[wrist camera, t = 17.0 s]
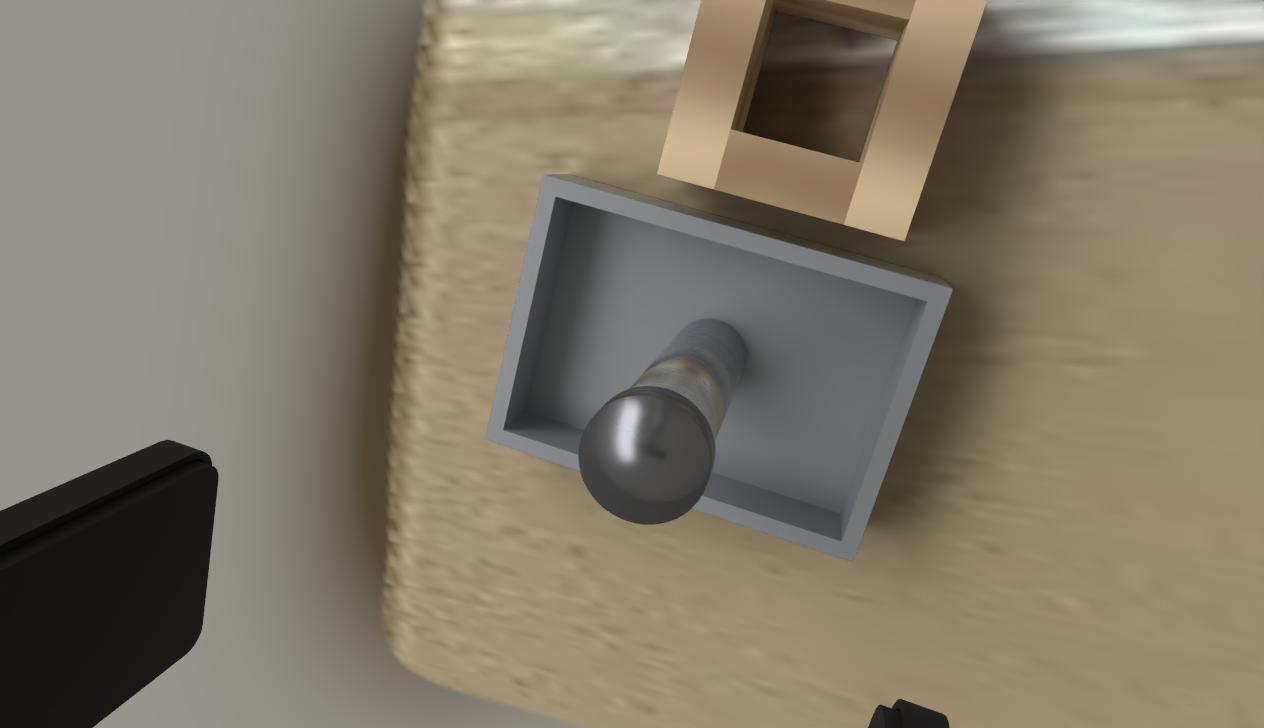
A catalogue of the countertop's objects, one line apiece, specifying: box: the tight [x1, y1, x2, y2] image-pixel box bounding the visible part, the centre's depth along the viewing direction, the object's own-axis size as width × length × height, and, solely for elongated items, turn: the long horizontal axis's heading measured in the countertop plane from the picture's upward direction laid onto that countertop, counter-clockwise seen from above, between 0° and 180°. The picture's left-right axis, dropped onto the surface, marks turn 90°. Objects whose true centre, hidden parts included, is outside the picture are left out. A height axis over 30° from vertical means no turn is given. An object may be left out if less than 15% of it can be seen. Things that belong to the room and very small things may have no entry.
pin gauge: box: [578, 319, 746, 524], centre depth 26 cm, size 3×3×12 cm
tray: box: [485, 174, 953, 562], centre depth 30 cm, size 10×14×3 cm
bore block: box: [657, 0, 987, 241], centre depth 27 cm, size 8×8×4 cm
